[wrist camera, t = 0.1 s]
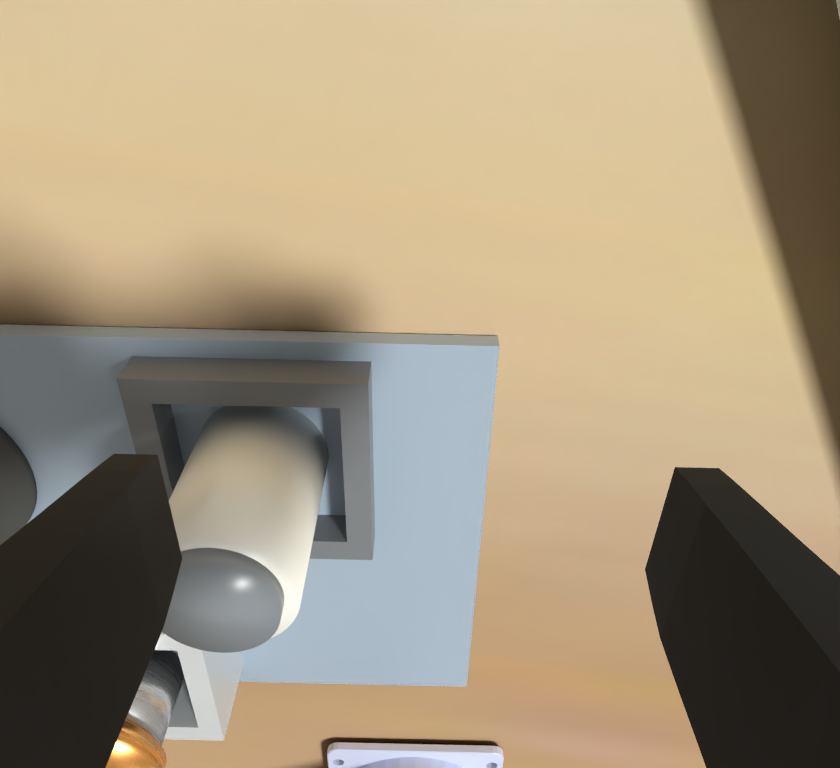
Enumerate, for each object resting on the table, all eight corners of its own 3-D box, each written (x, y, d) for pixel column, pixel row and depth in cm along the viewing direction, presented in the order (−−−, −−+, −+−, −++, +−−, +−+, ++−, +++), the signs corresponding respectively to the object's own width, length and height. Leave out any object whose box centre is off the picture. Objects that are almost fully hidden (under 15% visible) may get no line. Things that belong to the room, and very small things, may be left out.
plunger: (202, 702, 25) (170, 810, 22) (87, 699, 25) (39, 807, 22) (183, 628, 23) (143, 737, 20) (57, 625, 23) (-3, 734, 20)
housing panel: (465, 673, 28) (470, 760, 25) (-65, 661, 28) (-124, 747, 25) (497, 335, 20) (510, 407, 17) (-270, 318, 20) (-397, 386, 17)
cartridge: (331, 501, 22) (303, 664, 17) (209, 498, 22) (145, 660, 17) (325, 400, 20) (290, 553, 15) (189, 397, 20) (110, 549, 15)
